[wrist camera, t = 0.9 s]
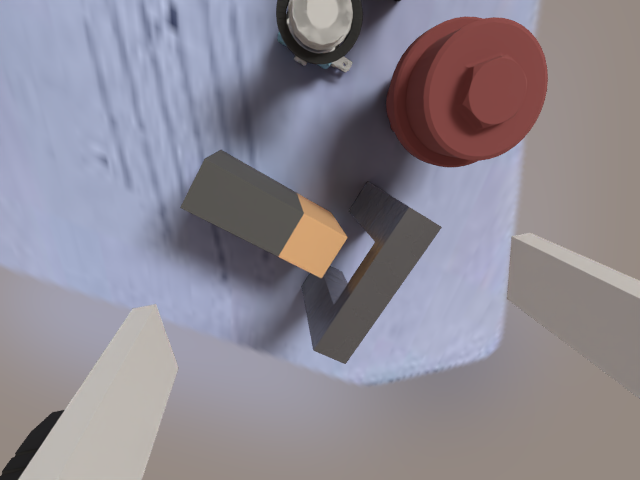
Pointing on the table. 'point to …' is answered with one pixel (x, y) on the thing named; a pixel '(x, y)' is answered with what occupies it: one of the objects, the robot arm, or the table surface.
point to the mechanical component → (467, 90)
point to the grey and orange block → (264, 213)
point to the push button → (319, 30)
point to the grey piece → (366, 274)
